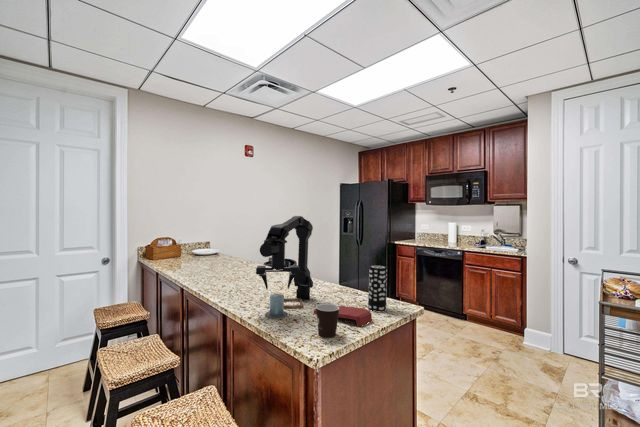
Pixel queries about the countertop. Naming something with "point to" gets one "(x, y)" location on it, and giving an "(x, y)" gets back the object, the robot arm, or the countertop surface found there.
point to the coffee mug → (327, 320)
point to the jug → (276, 305)
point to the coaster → (276, 316)
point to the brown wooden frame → (293, 305)
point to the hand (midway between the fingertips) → (277, 289)
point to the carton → (354, 314)
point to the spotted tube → (377, 288)
